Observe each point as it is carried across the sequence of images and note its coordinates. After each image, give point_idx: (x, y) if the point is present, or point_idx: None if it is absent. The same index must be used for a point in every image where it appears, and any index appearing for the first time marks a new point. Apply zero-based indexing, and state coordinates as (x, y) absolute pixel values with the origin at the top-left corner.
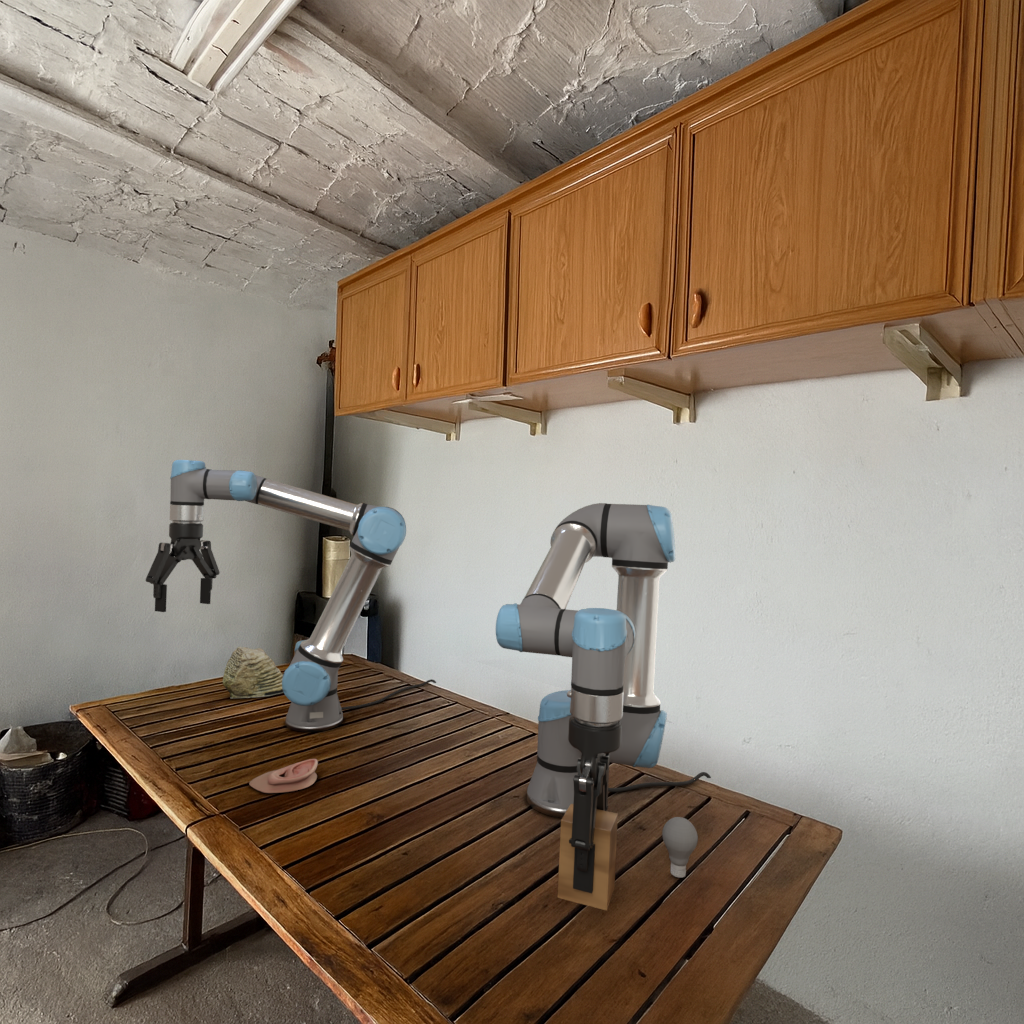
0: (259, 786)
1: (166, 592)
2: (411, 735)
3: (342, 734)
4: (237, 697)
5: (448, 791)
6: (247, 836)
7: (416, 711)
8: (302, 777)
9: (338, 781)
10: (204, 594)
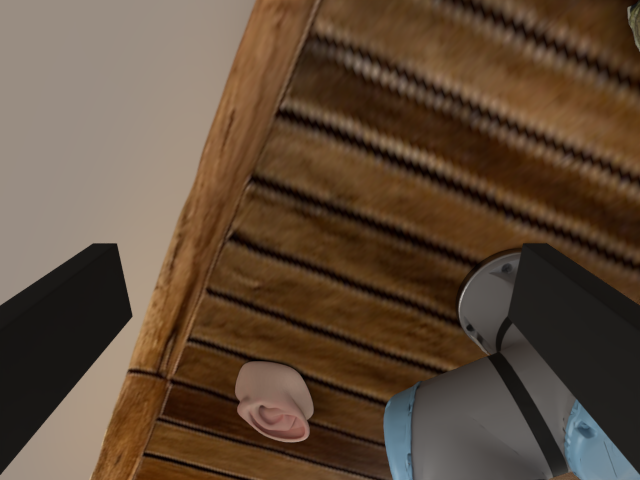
0: (239, 385)
1: (35, 430)
2: None
3: None
4: (632, 29)
5: None
6: (151, 432)
7: None
8: (265, 435)
9: (311, 441)
10: (558, 324)
